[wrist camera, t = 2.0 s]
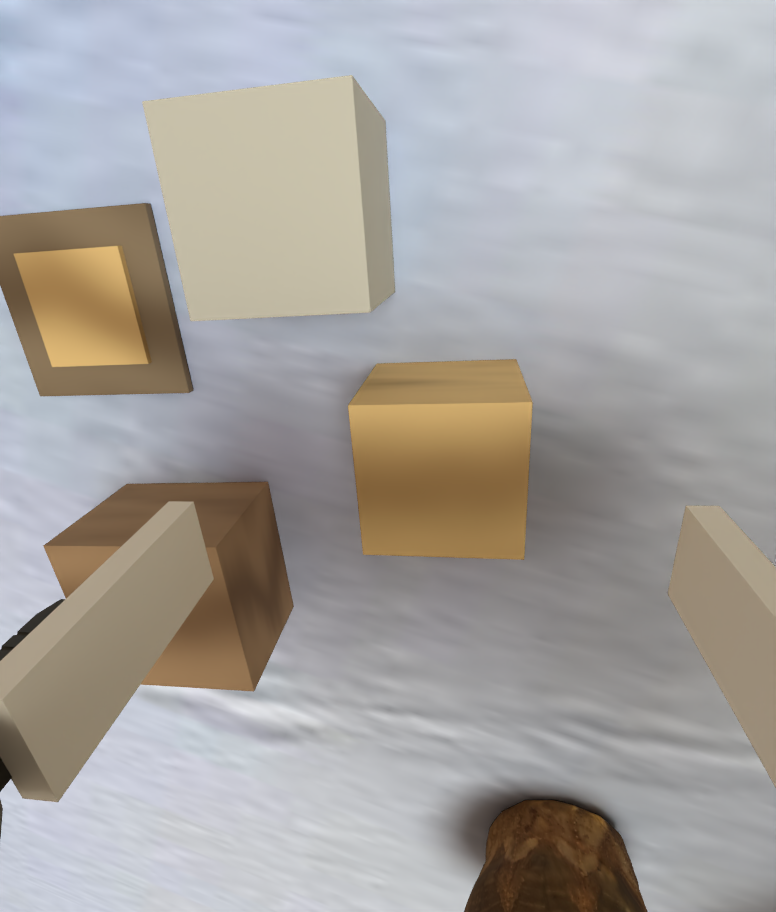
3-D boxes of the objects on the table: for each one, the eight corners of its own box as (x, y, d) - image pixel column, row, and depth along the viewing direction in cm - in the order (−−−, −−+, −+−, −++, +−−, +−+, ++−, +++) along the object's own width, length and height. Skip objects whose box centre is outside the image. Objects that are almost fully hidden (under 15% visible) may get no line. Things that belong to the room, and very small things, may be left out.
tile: (193, 390, 24) (185, 394, 23) (46, 394, 25) (35, 397, 24) (150, 203, 21) (140, 202, 20) (-16, 218, 22) (-30, 218, 21)
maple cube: (511, 484, 24) (524, 559, 18) (386, 483, 25) (363, 554, 19) (515, 358, 21) (532, 402, 16) (377, 363, 22) (347, 405, 17)
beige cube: (395, 291, 21) (370, 312, 15) (259, 298, 22) (190, 321, 16) (385, 121, 18) (351, 75, 13) (233, 137, 19) (142, 101, 14)
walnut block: (294, 604, 29) (254, 691, 23) (167, 600, 30) (101, 682, 25) (269, 480, 26) (215, 547, 20) (128, 482, 27) (43, 545, 21)
